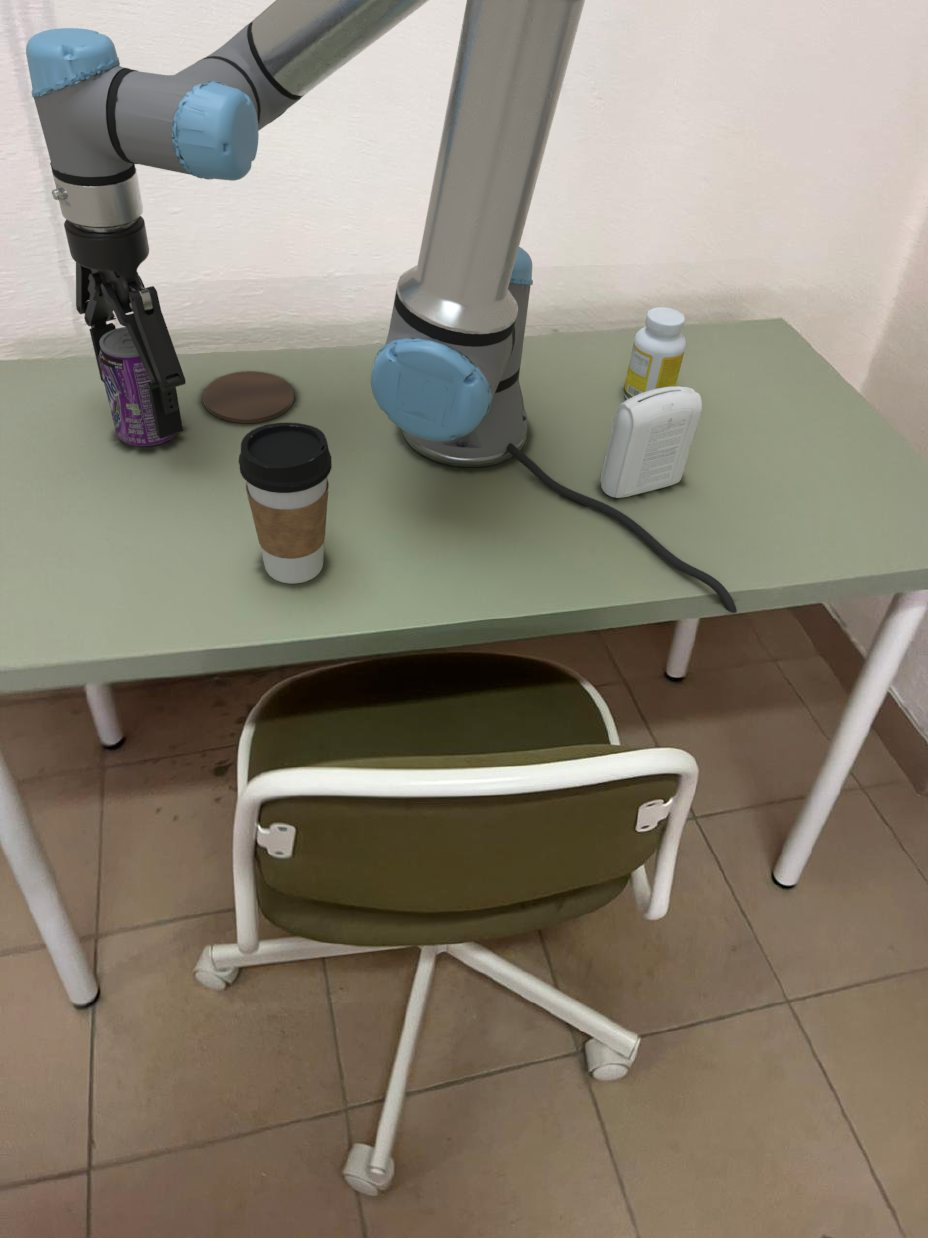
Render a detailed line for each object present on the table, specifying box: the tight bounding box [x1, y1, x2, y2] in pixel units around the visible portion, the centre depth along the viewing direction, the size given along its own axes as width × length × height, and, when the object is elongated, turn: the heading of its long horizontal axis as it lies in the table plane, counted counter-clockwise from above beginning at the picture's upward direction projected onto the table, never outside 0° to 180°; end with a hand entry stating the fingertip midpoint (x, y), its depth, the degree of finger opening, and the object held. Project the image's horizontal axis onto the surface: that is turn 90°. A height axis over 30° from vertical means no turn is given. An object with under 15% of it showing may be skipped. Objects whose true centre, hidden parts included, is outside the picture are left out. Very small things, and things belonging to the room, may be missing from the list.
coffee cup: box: [238, 422, 333, 585], centre depth 88 cm, size 8×8×15 cm
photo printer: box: [599, 385, 703, 499], centre depth 102 cm, size 10×4×12 cm, turn 117°
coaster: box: [202, 370, 295, 424], centre depth 113 cm, size 11×11×1 cm
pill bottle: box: [623, 306, 687, 400], centre depth 116 cm, size 6×6×12 cm
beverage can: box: [99, 326, 177, 447], centre depth 103 cm, size 7×7×12 cm
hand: (141, 405), depth 104 cm, fingers open, 13 cm apart
